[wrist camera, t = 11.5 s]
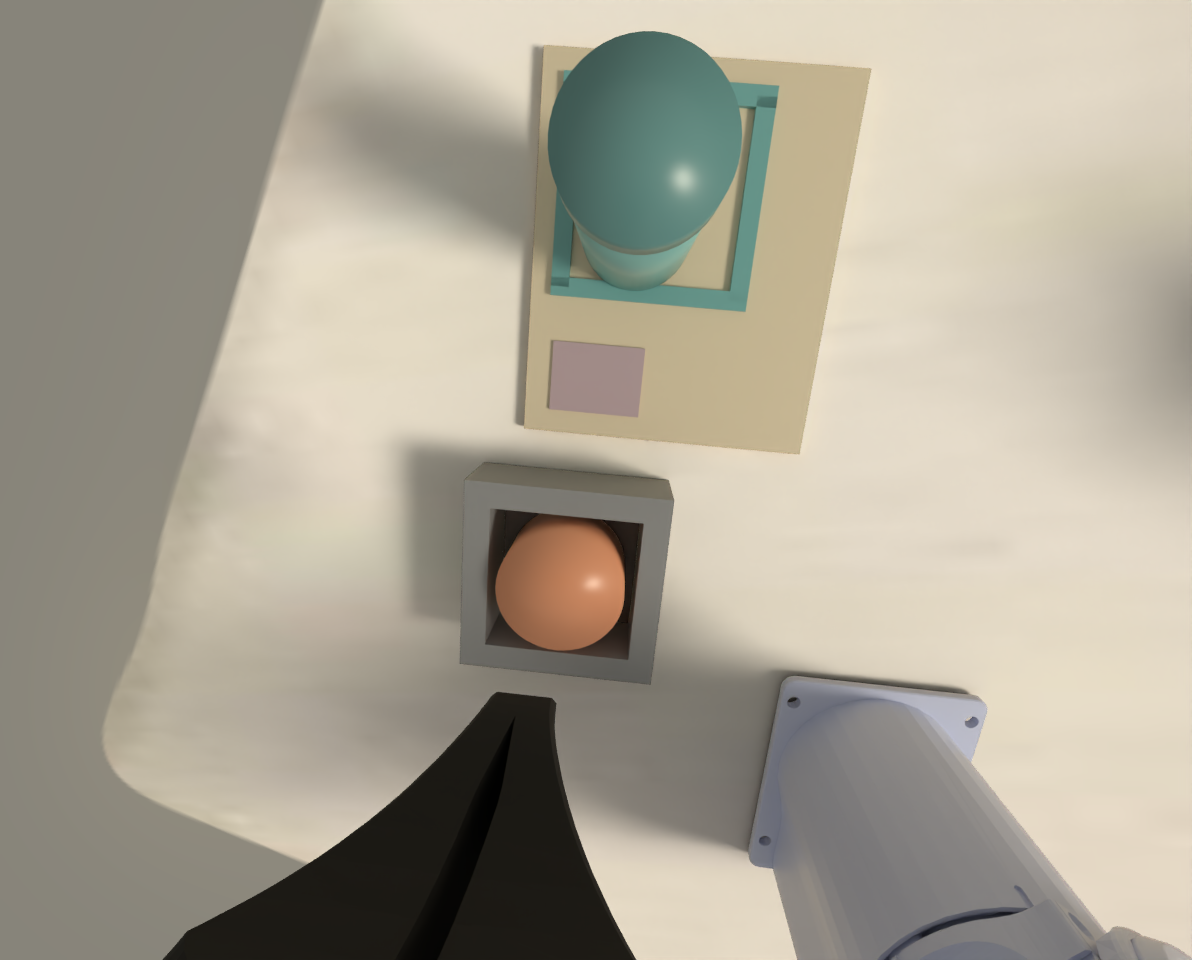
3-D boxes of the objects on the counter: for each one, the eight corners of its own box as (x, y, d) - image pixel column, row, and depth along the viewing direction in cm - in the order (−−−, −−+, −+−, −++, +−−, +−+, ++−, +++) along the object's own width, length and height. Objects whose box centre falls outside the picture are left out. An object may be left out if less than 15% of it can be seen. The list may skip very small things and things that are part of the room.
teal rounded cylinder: (687, 299, 18) (727, 252, 11) (574, 289, 19) (541, 237, 11) (701, 175, 18) (755, 38, 10) (583, 166, 18) (554, 23, 10)
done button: (618, 621, 22) (618, 656, 19) (508, 608, 22) (493, 643, 19) (630, 514, 20) (630, 538, 18) (513, 502, 21) (497, 525, 18)
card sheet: (796, 452, 20) (801, 455, 20) (525, 426, 20) (523, 429, 20) (867, 73, 17) (874, 65, 16) (545, 49, 17) (542, 41, 17)
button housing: (647, 645, 22) (650, 684, 20) (478, 627, 23) (459, 663, 20) (668, 480, 21) (674, 500, 18) (484, 462, 21) (464, 479, 18)
